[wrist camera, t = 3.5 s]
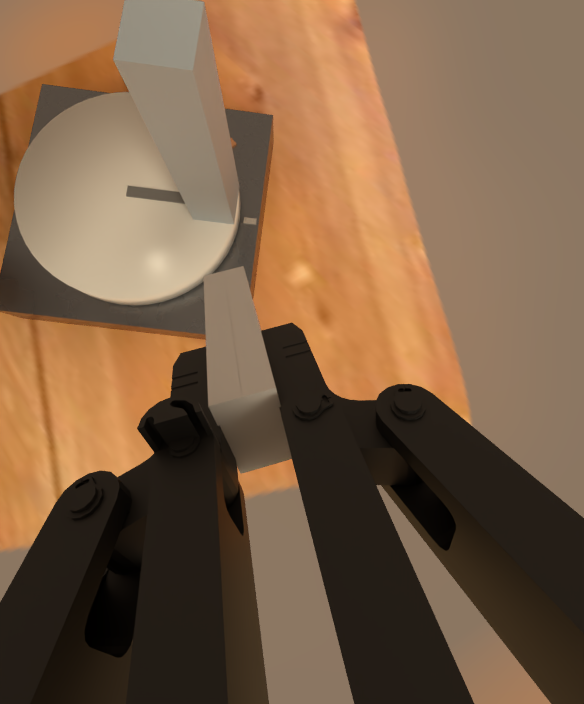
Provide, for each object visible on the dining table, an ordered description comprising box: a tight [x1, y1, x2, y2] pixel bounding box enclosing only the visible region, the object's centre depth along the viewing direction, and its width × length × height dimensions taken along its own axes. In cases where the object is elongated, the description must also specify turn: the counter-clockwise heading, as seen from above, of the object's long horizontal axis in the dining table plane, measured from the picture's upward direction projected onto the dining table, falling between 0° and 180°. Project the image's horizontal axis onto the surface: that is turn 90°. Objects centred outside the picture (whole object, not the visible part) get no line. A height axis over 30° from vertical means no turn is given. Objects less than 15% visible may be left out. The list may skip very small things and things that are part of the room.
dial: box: [14, 0, 241, 305], centre depth 20 cm, size 16×16×14 cm
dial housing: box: [0, 84, 273, 339], centre depth 28 cm, size 19×19×3 cm
